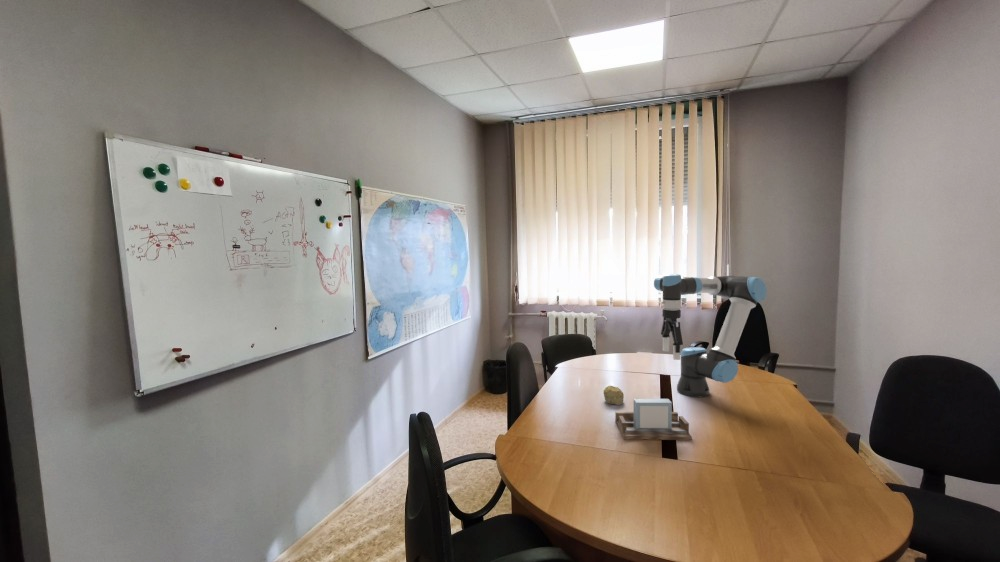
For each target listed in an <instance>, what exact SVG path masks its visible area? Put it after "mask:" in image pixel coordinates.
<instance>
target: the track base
mask: <svg viewBox="0 0 1000 562" xmlns="http://www.w3.org/2000/svg"><path fill="white" fill-rule="evenodd" d="M614 417H615V418H614V419H615V424H616V426H617V428H618V430H619V432H620V434H621V436H622V438H623V440H638V439H639V440H641V439H661V440H660V441H662V440H663V441H665V440H666V441H692V437H693V436H692V435H691V434H690V430H689V429H690V423H689V422H688V421H687V419H685V418H684V416H682V415H680V416H679V412H677V411H672V429H635V428H634V411H615V416H614Z"/></svg>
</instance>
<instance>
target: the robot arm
mask: <svg viewBox="0 0 1000 562" xmlns="http://www.w3.org/2000/svg"><path fill="white" fill-rule="evenodd" d="M653 287H654V288H655V290H657V291H660V292H662V301H661V305H662V315H661V316H662V318H663V321H662V327H661V331H660V335H662V336H661V337H662V352H670V337H671V336H672V340H673V343H672V347H673V349H672V350H673V351H672V352H673V353H672V358H673V360H674V361H675V360H676V361H677V360H678V361H680V377H679V379H678V382H677V385H676V391H677V392H678V393H680V394H681V395H683V396H688V397H693V398H694V397H695V398H705V397H708V396H709V395H710V386H709V384H708V382H707V379H710V380H713V381H715V382H720V383H723V384H726V383H730V382H732V381H733V380H734V379H735V378H736V377H737V375H738V372H739V364H738V362H737V361H736V360H737V358H736V356H735V352H736V349H737V347H738V344H739V341H740V339H741V336H742V333H743V330H744V328H745V326H746V324H747V320H748V318H749V315H750V312H751V310H752V309H754V308H756V306H757V304H758V303H761V302H763V301H764V300H765V299H766V297H767V293H768V290H767V285H766V283H765V281H764V280H763V279H762V278H760V277H756V276H743V275H742V276H741V275H721V276H710V277H692V276H690V277H689V276H681V274H672V273H671V274H665V275H658V276H656V277H655V278H654V280H653ZM700 293H701V294H702V293H705V294H709V295H710V296H719V297H723V298H728V299H729V301H730V305H729V309H728V310H727V311H728V312H727V313H726V316H725V319H724V321H723V323H722V324H723V325H722V326H721V328H720V332H719V334H718V337H717V340H716V341H715V345H714V346H713V347H711V348H710V349H709V350H708V352H707V349H706V348H704V347H694V346H692V347H690V346H689V347H685V348H682V350H681V346H683V337H682V331H681V322H680V321H678V319H681V317H682V310H681V308H682V296H683V295H684V296H685V295H694V294H700ZM670 334H671V336H670Z"/></svg>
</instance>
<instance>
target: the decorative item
mask: <svg viewBox="0 0 1000 562" xmlns="http://www.w3.org/2000/svg"><path fill="white" fill-rule="evenodd" d="M624 395H625V394H624V392H623V391H622V389H620V387H619V386H618V387H617V386H614V385H608V386H606V387H605V388H604V389H603V397H604V400H605V402H606V403H607V404H608V405H616V406H621V405H622V404H624V398H625V396H624Z"/></svg>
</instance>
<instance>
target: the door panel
mask: <svg viewBox="0 0 1000 562" xmlns="http://www.w3.org/2000/svg"><path fill="white" fill-rule="evenodd" d="M672 404H673V403H672V401H671V400H670V399H669V398H633V412H634V428H635V429H672V412H673V407H672V406H673V405H672Z"/></svg>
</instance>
